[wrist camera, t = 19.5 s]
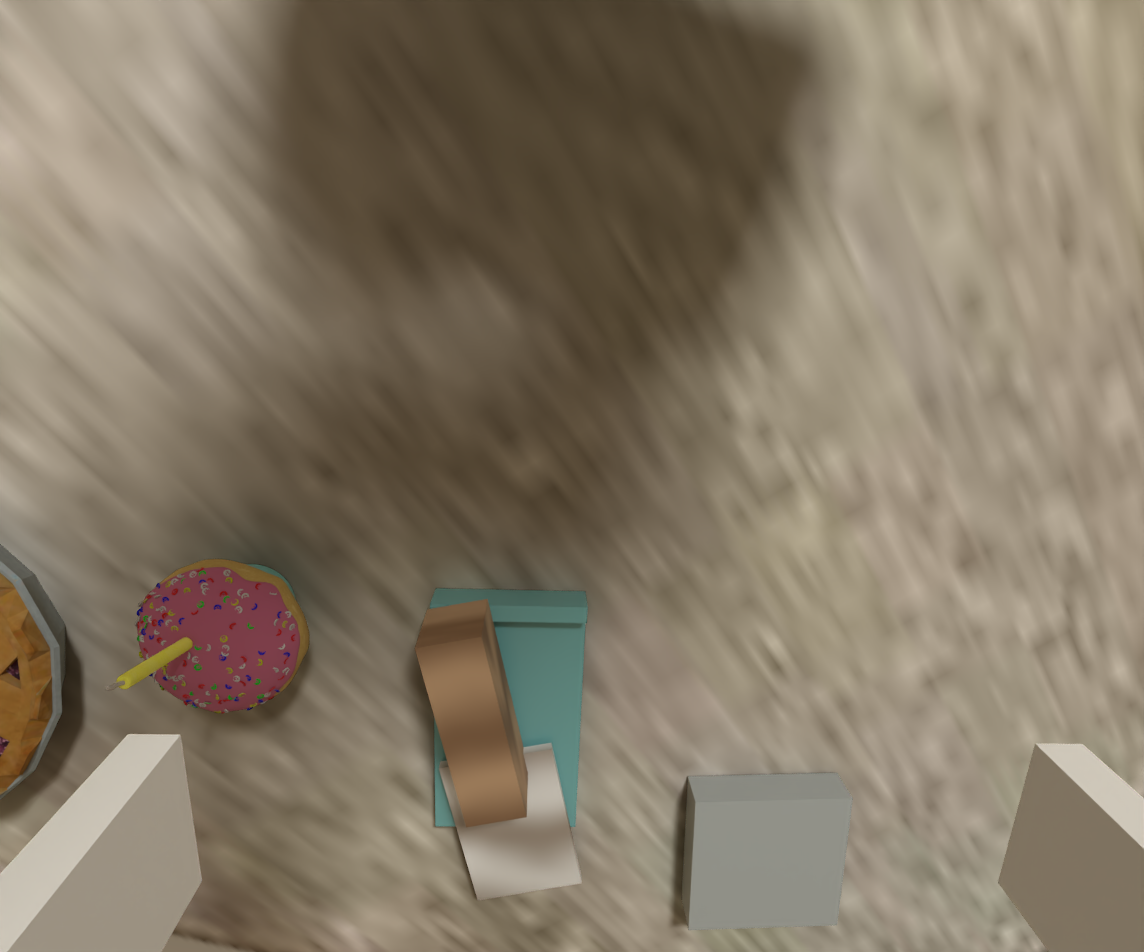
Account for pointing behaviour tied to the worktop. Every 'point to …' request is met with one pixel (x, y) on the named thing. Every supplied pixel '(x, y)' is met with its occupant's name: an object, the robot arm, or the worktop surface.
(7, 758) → the pie
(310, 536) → the worktop surface
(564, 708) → the rest
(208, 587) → the cupcake
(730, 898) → the tile
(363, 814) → the worktop surface
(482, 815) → the turner
